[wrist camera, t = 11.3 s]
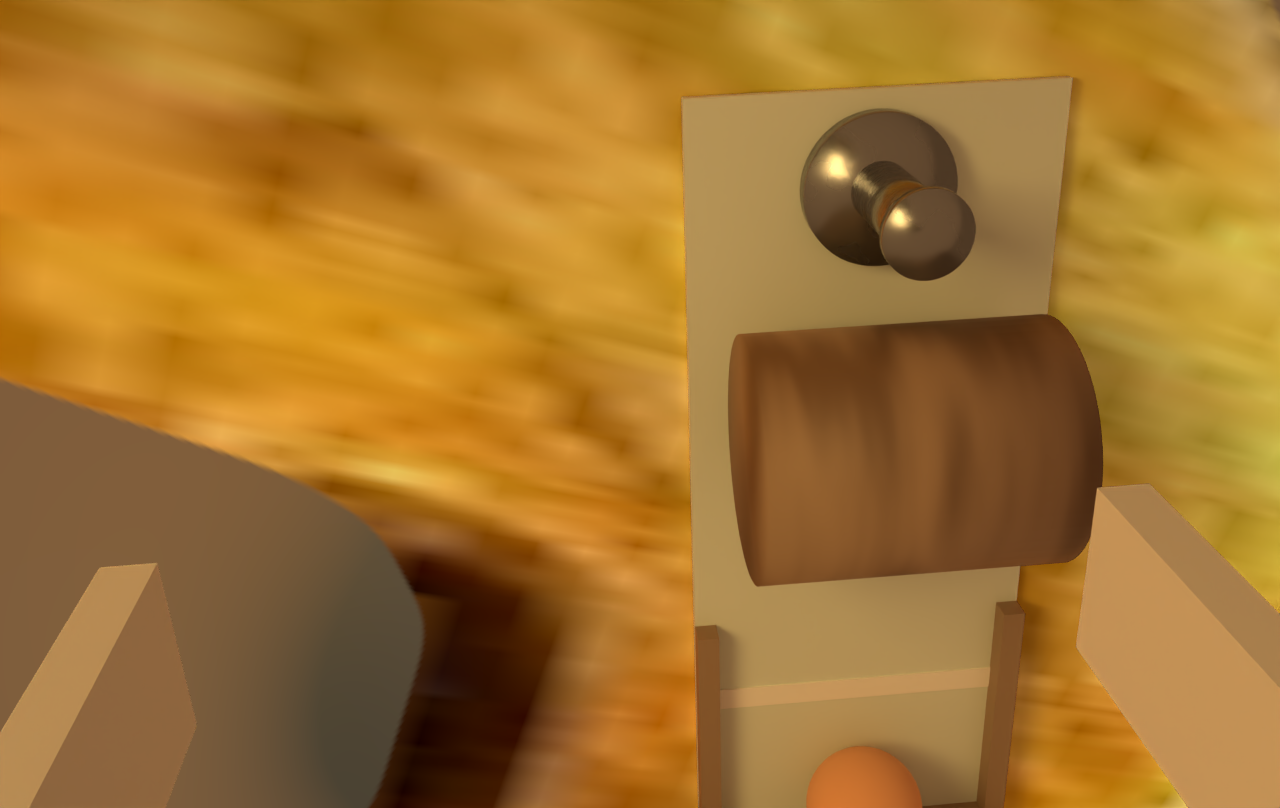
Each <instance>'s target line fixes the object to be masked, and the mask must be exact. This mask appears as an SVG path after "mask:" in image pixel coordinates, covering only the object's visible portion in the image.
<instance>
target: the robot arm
mask: <svg viewBox="0 0 1280 808" xmlns="http://www.w3.org/2000/svg"><path fill="white" fill-rule="evenodd" d="M1076 648H1077V649H1078V651H1079V652H1080V654H1081V655H1082V657H1083V658H1084V659H1085V661H1086V662H1087V664H1088V665H1089V667H1090V668H1091V669H1092V671H1093V672H1094V674H1095V675H1096V677H1097V678H1098V679H1099V681H1100V682H1101V684H1102V685H1103V687H1104V688H1105V689H1106V691H1107V692H1108V694H1109V695H1110V697H1111V698H1112V699H1113V701H1114V702H1115V704H1116V705H1117V707H1118V708H1119V709H1120V711H1121V712H1122V714H1123V715H1124V717H1125V718H1126V719H1127V721H1128V722H1129V724H1130V725H1131V727H1132V728H1133V729H1134V731H1135V732H1136V734H1137V735H1138V737H1139V738H1140V739H1141V741H1142V742H1143V744H1144V745H1145V747H1146V748H1147V749H1148V751H1149V752H1150V754H1151V755H1152V757H1153V758H1154V759H1155V761H1156V762H1157V764H1158V765H1159V767H1160V768H1161V769H1162V771H1163V772H1164V774H1165V775H1166V777H1167V778H1168V779H1169V781H1170V782H1171V784H1172V785H1173V787H1174V788H1175V790H1176V791H1177V792H1178V794H1179V795H1180V797H1181V798H1182V800H1183V801H1184V802H1185V804H1186V805H1187V807H1188V808H1280V614H1279V613H1278V612H1277V611H1276V610H1275V609H1274V608H1273V607H1272V606H1271V605H1270V604H1269V603H1268V602H1267V601H1266V600H1265V599H1264V598H1263V597H1262V596H1261V595H1260V594H1259V593H1258V592H1257V591H1256V590H1255V589H1254V588H1253V587H1252V586H1251V585H1250V584H1249V583H1248V582H1247V581H1246V580H1245V579H1244V578H1243V577H1242V576H1241V575H1240V574H1239V573H1238V572H1237V571H1236V570H1235V569H1234V568H1233V567H1232V566H1231V565H1230V564H1229V563H1228V562H1227V561H1226V560H1225V559H1224V558H1223V557H1222V556H1221V555H1220V554H1219V553H1218V552H1217V551H1216V550H1215V549H1214V548H1213V547H1212V546H1211V545H1210V544H1209V543H1208V542H1207V541H1206V540H1205V539H1204V538H1203V537H1202V536H1201V535H1200V534H1199V533H1198V532H1197V531H1196V530H1195V529H1194V528H1193V527H1192V526H1191V525H1190V524H1189V523H1188V522H1187V521H1186V520H1185V519H1184V518H1183V517H1182V516H1181V515H1180V514H1179V513H1178V512H1177V511H1176V510H1175V509H1174V508H1173V507H1172V506H1171V505H1170V504H1169V503H1168V502H1167V501H1166V500H1165V499H1164V498H1163V497H1162V496H1161V495H1160V494H1159V493H1158V492H1157V491H1156V490H1155V489H1154V488H1153V487H1152V486H1151V485H1150V484H1137V485H1124V486H1112V487H1099V488H1097V493H1096V500H1095V508H1094V515H1093V523H1092V530H1091V538H1090V545H1089V553H1088V560H1087V568H1086V575H1085V583H1084V590H1083V598H1082V605H1081V613H1080V620H1079V628H1078V635H1077V643H1076ZM196 726H197V723H196V719H195V715H194V711H193V707H192V703H191V699H190V694H189V690H188V687H187V682H186V678H185V674H184V670H183V666H182V662H181V658H180V654H179V650H178V646H177V641H176V637H175V633H174V629H173V625H172V621H171V617H170V613H169V609H168V605H167V601H166V596H165V592H164V588H163V584H162V580H161V576H160V572H159V568H158V564H157V563H150V564H138V565H126V566H113V567H100V568H99V569H98V571H97V573H96V574H95V576H94V578H93V579H92V581H91V583H90V584H89V586H88V588H87V589H86V591H85V593H84V594H83V596H82V598H81V599H80V601H79V602H78V604H77V606H76V608H75V609H74V611H73V612H72V614H71V616H70V617H69V619H68V621H67V623H66V624H65V626H64V628H63V629H62V631H61V632H60V634H59V636H58V637H57V639H56V641H55V642H54V644H53V646H52V647H51V649H50V651H49V652H48V654H47V656H46V657H45V659H44V661H43V662H42V664H41V666H40V667H39V669H38V671H37V672H36V674H35V676H34V677H33V679H32V681H31V682H30V684H29V686H28V687H27V689H26V690H25V692H24V694H23V695H22V697H21V699H20V701H19V702H18V704H17V706H16V707H15V709H14V711H13V712H12V714H11V715H10V717H9V719H8V720H7V722H6V724H5V726H4V727H3V729H2V730H1V732H0V808H166V805H167V802H168V800H169V797H170V794H171V792H172V789H173V786H174V783H175V781H176V778H177V776H178V773H179V771H180V768H181V765H182V763H183V760H184V757H185V755H186V752H187V750H188V747H189V744H190V742H191V739H192V736H193V734H194V731H195V729H196Z"/></svg>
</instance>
